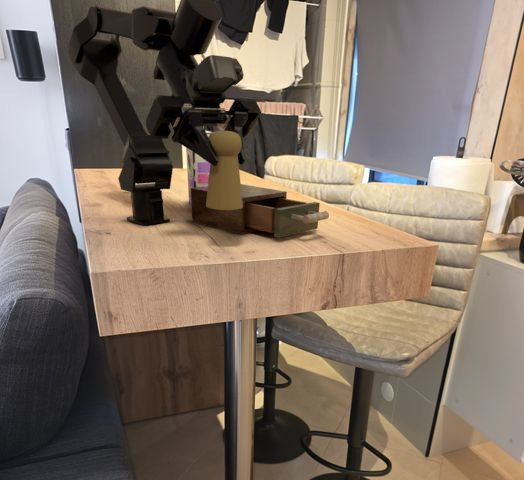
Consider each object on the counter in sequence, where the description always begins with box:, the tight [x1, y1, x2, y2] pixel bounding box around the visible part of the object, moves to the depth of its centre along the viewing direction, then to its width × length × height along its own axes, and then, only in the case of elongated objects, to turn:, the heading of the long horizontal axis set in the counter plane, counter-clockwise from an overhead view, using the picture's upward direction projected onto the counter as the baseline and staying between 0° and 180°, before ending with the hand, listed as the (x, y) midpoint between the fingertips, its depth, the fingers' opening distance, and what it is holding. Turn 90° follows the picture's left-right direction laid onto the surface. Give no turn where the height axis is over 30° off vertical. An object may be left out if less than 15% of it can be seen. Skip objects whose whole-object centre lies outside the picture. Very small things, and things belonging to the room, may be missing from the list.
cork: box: [206, 130, 243, 210], centre depth 71 cm, size 6×6×11 cm
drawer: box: [245, 197, 330, 239], centre depth 85 cm, size 18×11×5 cm, turn 47°
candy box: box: [185, 130, 213, 206], centre depth 104 cm, size 14×6×16 cm, turn 14°
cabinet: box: [190, 183, 288, 235], centre depth 92 cm, size 15×13×7 cm
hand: (230, 163), depth 69 cm, fingers closed on cork, 5 cm apart
